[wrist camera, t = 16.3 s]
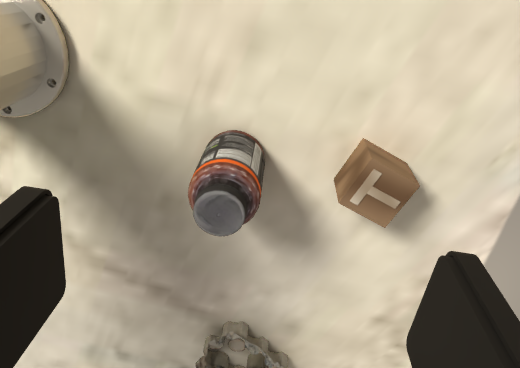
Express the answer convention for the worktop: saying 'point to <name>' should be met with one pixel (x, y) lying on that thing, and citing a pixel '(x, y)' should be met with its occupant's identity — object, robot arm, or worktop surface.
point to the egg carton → (240, 349)
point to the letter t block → (375, 183)
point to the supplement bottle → (227, 183)
